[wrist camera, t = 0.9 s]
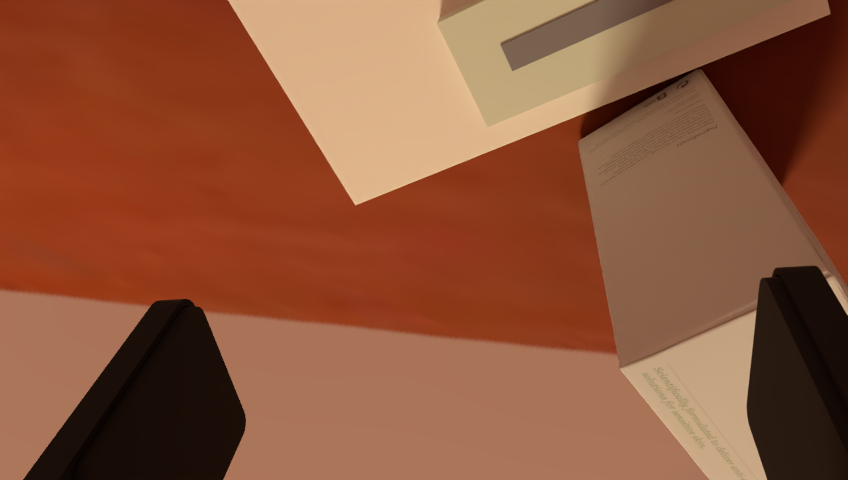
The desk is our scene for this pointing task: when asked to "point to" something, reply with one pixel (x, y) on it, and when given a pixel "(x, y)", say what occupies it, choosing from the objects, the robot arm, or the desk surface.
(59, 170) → the desk surface
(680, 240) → the skincare box
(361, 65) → the ticket board
